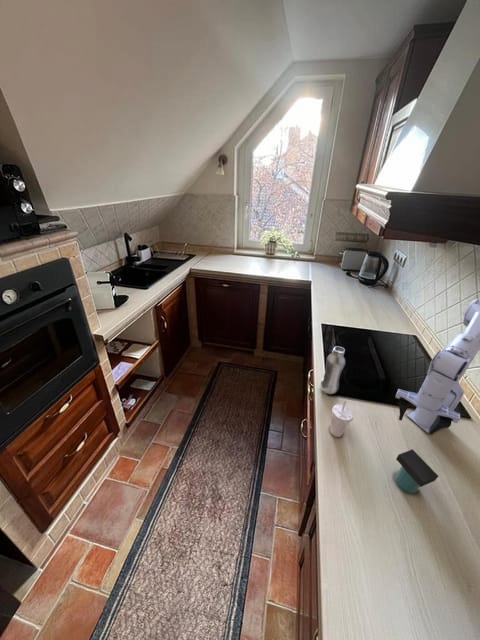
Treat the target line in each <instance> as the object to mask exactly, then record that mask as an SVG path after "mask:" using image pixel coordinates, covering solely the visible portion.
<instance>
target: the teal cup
mask: <svg viewBox="0 0 480 640" xmlns="http://www.w3.org/2000/svg"><path fill="white" fill-rule="evenodd" d="M394 479H395V482H396V485H397V486H398V487H399V488H400V490H402V491H404V492H405V493H407V494H411V495H413V494H416V493H417V492H418V491H419V490H420V488H421V487H420V486H419V485H418V484H417V482H416V481H415V480H414V479H413V478H412V477H411V476H410V475H409V473H408V472H407V471H406V470H405V469H404V468H403V467H402V465H400V467H399V469H398V471H397V473H396V475H395V477H394Z"/></svg>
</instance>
